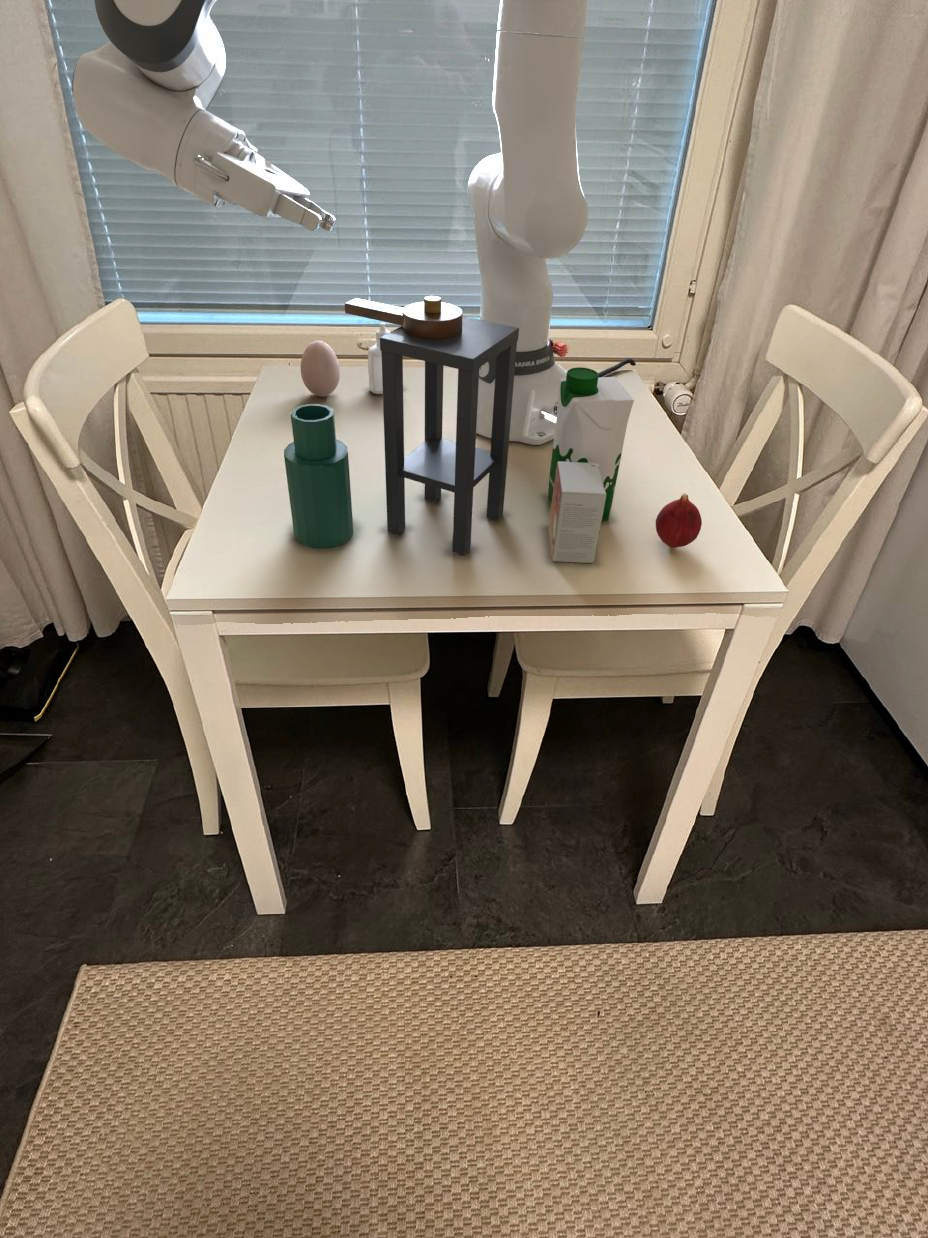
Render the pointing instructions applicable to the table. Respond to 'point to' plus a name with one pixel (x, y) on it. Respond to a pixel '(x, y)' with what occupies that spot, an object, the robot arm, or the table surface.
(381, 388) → the white tall narrow container
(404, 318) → the lid
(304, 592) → the table surface
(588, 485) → the small box
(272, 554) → the table surface
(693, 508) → the onion
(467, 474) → the stand
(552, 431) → the robot arm
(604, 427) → the milk carton
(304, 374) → the egg
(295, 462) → the bottle
